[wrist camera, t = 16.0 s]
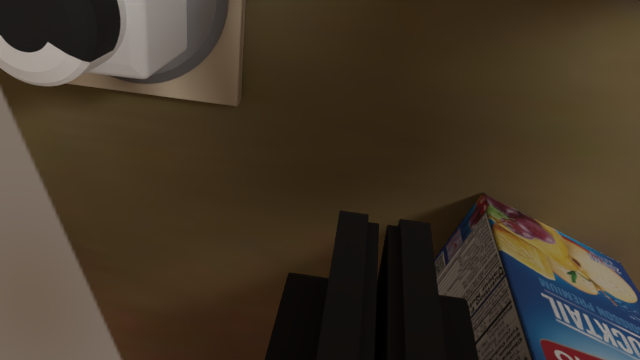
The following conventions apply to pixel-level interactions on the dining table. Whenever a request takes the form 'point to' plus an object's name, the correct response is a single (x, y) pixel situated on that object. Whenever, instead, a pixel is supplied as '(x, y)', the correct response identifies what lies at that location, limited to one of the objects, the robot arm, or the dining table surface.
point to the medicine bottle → (89, 38)
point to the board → (195, 59)
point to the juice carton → (537, 290)
